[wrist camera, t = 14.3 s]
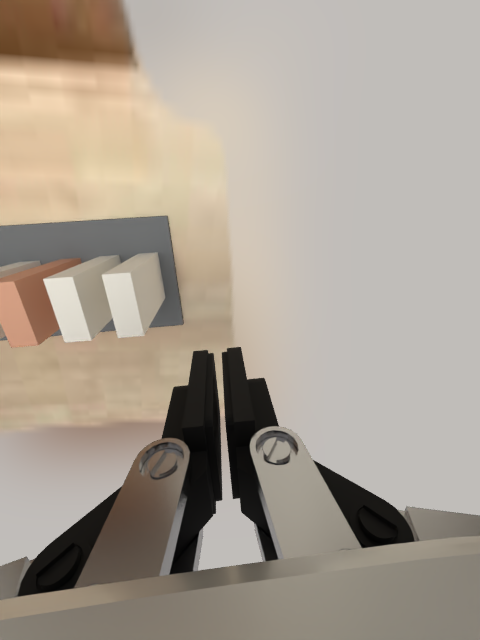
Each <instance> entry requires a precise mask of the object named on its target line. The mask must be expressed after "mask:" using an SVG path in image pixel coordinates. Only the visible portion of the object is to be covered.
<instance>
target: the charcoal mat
mask: <svg viewBox="0 0 480 640" xmlns="http://www.w3.org/2000/svg"><path fill="white" fill-rule="evenodd" d="M154 252H158V257H159V263H160V269H161V275H162V280H163V286H164V292H165V299H164V301H163V303H162V304H161V306H160V308H159V310H158V312H157V313H156V315H155V317H154V319H153V320H152V322H151V324H150V326H149V328H151V327H163V326H174V325H183V317H182V310H181V304H180V297H179V290H178V284H177V277H176V270H175V263H174V257H173V250H172V243H171V237H170V230H169V223H168V217H167V216H156V217H140V218H124V219H107V220H91V221H75V222H59V223H43V224H27V225H11V226H0V267H2V266H6V265H10V264H13V263H17V262H25V261H40V263H41V265H44V264H47V263H50V262H53V261H56V260H59V259H70V258H80V259H81V263H84V262H87V261H89V260H91V259H94V258H96V257H99V256H111V255H119V257H120V262H121V263H123V262H125V261H126V260H128V259H130V258H132V257H133V256H135V255H137V254H140V253H154ZM105 331H116V329H115V325H114V321H113V318H112V319H111V320H110V321H109V322H108V323H107V324H106V325H105V327H104V328H103V329H102V330H101V331H100V332H105ZM58 335H62V333H61V330H60V329H59V330H58V331H56V332H55V333H54V334H52V335H51V336H58ZM0 340H8V339H7V337H6V336H5V337H3V338H2V339H0Z"/></svg>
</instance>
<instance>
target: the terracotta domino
mask: <svg viewBox="0 0 480 640" xmlns="http://www.w3.org/2000/svg"><path fill="white" fill-rule="evenodd" d="M79 264H82V263H81V259H80V258H70V259H59V260H56V261H53V262H50V263H47V264H44V265H40V266H37V267H34V268H31V269H28V270H25V271H22V272H18V273H15V274H12V275H9V276H6V277H3V278H0V323H1V325H2V328H3V330H4V332H5V335H6V337H7V339H8V341H9V344H10V346H11V348H12V347H23V346H35V345H39V344H41V343H42V342H43V341H45V340H46V339H47V338H48V337H50V336H51V335H52V334H54V333H55V332H56V331H58V330H59V329H60V327H59V324H58V322H57V319H56V316H55V313H54V310H53V307H52V304H51V301H50V298H49V295H48V293H47V290H46V287H45V284H44V281H43V279H44V278H47V277H49V276H52V275H54V274H57V273H59V272H62V271H64V270H67V269H69V268H72V267H74V266H77V265H79Z"/></svg>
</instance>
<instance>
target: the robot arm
mask: <svg viewBox="0 0 480 640" xmlns="http://www.w3.org/2000/svg"><path fill="white" fill-rule="evenodd" d="M222 364H223V384H224V404H225V420H226V421H225V422H226V433H227V442H228V453H229V462H230V473H231V484H232V494H233V499H236V498H240V503H241V511H242V513H243V514H244V515H245V516H247V517H248V518H249V519H250V520H251V521H253V522H254V526H255V532H256V536H257V540H258V544H259V548H260V552H261V556H262V560H263V562H258V563H250V564H243V565H236V566H229V567H222V568H215V569H207V570H201V571H198V565H199V559H200V552H201V546H202V539H203V527H204V526H205V524H206V523H207V522H208V521H209V520H210V518H211V517H212V516H213V514H215V513H216V501H220V500H222V472H221V433H220V409H219V399H218V390H217V381H216V371H215V362H214V354H213V353H210V354H208V350H203V351H194V352H193V358H192V364H191V371H190V378H189V384H188V385H187V386H177V387H174V389H173V392H172V396H171V401H170V405H169V409H168V414H167V418H166V422H165V427H164V431H163V435H162V439H160V440H157V441H154V442H152V443H151V444H149V445H147V446H146V447H145V448H144V449H143V450H142V451H140V453H139V454H138V456H137V457H136V459H135V460H134V462H133V465H132V467H131V469H130V471H129V473H128V475H127V477H126V479H125V481H124V484H123V486H122V487H120V488H119V489H118V490H117V491H116V492H114V493H113V494H112V495H110V496H109V497H108V498H107V499H106V500H104V501H103V502H102V503H100V504H99V505H98V506H97V507H95V508H94V509H93V510H92V511H90V512H89V513H88V514H87V515H86V516H84V517H83V518H82V519H80V520H79V521H78V522H77V523H75V524H74V525H73V526H72V527H70V528H69V529H68V530H67V531H66V532H64V533H63V534H62V535H60V536H59V537H58V538H57V539H55V540H54V541H53V542H52V543H50V544H49V545H48V546H47V547H46V548H45V549H44V550H43V551H42V552H41V553H40V554H39V555H38V556H37V557H36V558H35V559H33V560H30V561H29V559H28V558H27V557H24V558H21V559H19V560H16V561H13V562H11V563H8V564H5V565H2V566H0V640H480V516H478V515H471V514H463V513H454V512H447V511H439V510H431V509H423V508H415V507H406V509H405V511H401V510H397V509H396V508H395V507H393V506H392V505H390V504H389V503H388V502H386V501H385V500H383V499H381V498H379V497H378V496H376V495H374V494H373V493H371V492H369V491H367V490H365V489H364V488H362V487H360V486H358V485H357V484H355V483H353V482H351V481H349V480H348V479H346V478H344V477H342V476H341V475H339V474H337V473H335V472H333V471H332V470H330V469H328V468H326V467H325V466H323V465H321V464H319V463H318V462H316V461H314V460H312V458H311V456H310V454H309V452H308V451H307V449H306V447H305V445H304V444H303V442H302V440H301V439H300V437H299V436H298V435H297V434H296V433H294V432H293V431H291V430H289V429H287V428H284V427H279V425H278V422H277V419H276V415H275V412H274V408H273V405H272V402H271V398H270V395H269V391H268V388H267V385H266V381H265V379H264V378H258V379H249V380H247V377H246V372H245V367H244V361H243V356H242V351H241V347H236V348H227V352H222Z"/></svg>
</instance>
